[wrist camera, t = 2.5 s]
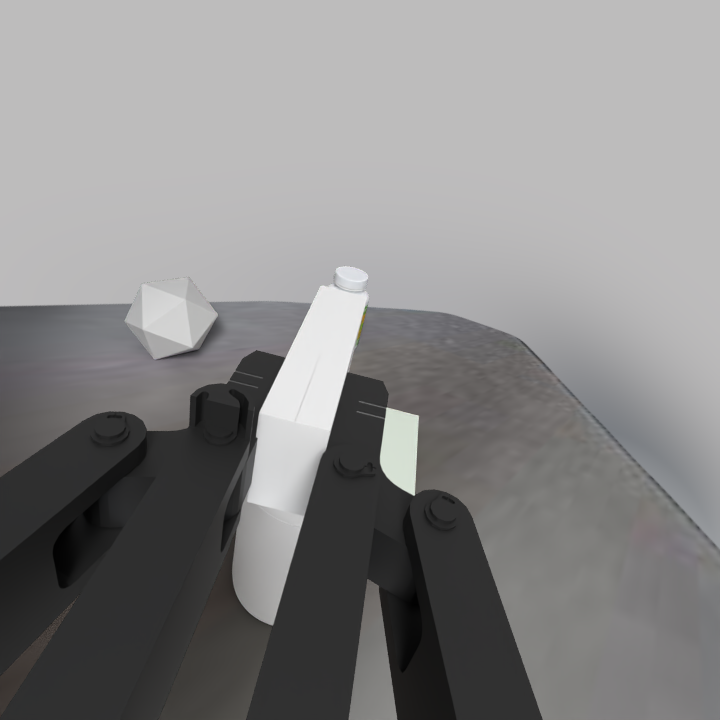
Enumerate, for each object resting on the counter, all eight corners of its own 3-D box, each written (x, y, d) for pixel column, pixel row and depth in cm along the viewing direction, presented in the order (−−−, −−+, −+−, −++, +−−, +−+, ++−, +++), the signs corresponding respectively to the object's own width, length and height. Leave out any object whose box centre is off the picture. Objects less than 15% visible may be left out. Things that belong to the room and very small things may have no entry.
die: (193, 326, 62) (141, 263, 56) (244, 322, 57) (192, 253, 51) (153, 376, 57) (91, 313, 51) (204, 376, 52) (142, 306, 46)
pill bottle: (205, 576, 35) (219, 414, 27) (287, 513, 41) (318, 364, 33) (286, 659, 32) (328, 503, 24) (361, 577, 38) (416, 430, 30)
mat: (411, 540, 41) (412, 536, 41) (199, 486, 41) (199, 482, 41) (417, 419, 55) (418, 415, 55) (257, 378, 55) (258, 374, 54)
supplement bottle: (351, 358, 62) (368, 288, 57) (310, 345, 63) (324, 274, 57) (361, 338, 67) (378, 272, 61) (323, 326, 67) (337, 259, 62)
